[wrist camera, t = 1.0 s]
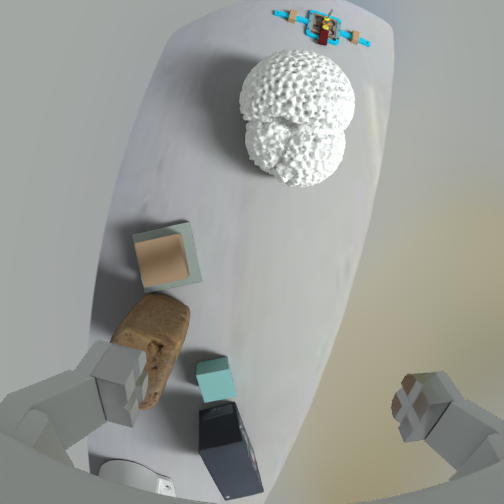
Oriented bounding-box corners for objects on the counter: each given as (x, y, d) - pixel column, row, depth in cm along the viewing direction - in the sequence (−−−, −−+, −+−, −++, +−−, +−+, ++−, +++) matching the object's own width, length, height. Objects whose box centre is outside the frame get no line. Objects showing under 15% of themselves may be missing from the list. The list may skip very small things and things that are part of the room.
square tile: (202, 280, 46) (202, 281, 45) (146, 292, 45) (144, 293, 44) (189, 222, 45) (189, 221, 44) (133, 234, 44) (131, 234, 43)
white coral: (218, 48, 36) (304, 34, 25) (302, 61, 46) (384, 64, 35) (216, 177, 46) (293, 209, 35) (296, 165, 56) (370, 189, 44)
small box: (255, 451, 49) (265, 493, 37) (221, 459, 48) (224, 502, 37) (236, 400, 48) (243, 441, 36) (198, 409, 47) (196, 451, 35)
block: (153, 284, 45) (113, 317, 25) (196, 305, 46) (186, 353, 26) (129, 342, 45) (85, 402, 25) (170, 362, 46) (149, 433, 26)
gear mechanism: (366, 65, 48) (368, 34, 48) (379, 52, 43) (379, 21, 43) (268, 32, 46) (277, 3, 45) (274, 16, 40) (282, -13, 40)
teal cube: (233, 382, 48) (236, 396, 43) (204, 387, 47) (204, 402, 42) (227, 356, 47) (228, 369, 42) (197, 362, 47) (195, 375, 42)
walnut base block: (190, 273, 45) (187, 278, 40) (151, 281, 44) (144, 287, 39) (181, 233, 44) (177, 233, 39) (143, 242, 44) (134, 243, 39)
